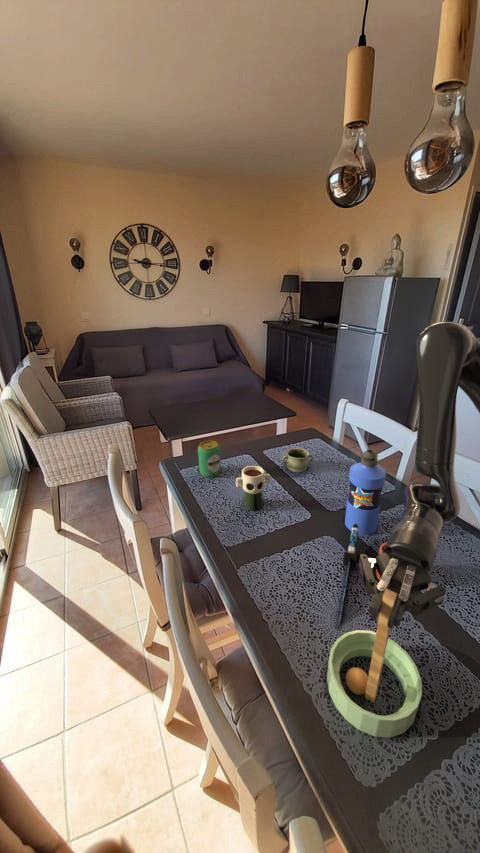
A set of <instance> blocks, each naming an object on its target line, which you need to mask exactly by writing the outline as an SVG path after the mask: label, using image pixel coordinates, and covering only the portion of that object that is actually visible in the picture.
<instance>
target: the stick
mask: <svg viewBox="0 0 480 853" xmlns="http://www.w3.org/2000/svg"><path fill="white" fill-rule="evenodd" d="M396 599H398V593H397V592H395V591H392V590H391V589H390V590H388V589H386V590H385V592H384V595H383V599H382V605H381V611H380V613H379V616H378V620H377V627H376V637H375V643H374V648H373V654H372V658H371V660H370V666H369V670H368V675H367V676H368V681H367V687H366V693H364V698H365V699H367V701H370V702H371V703H373V704H375V702H376V698H377V696H378V691H379V687H380V683H381V677H382V672H383V667H384V664H383V662H384V658H385V653H386V648H387V643H388V638H389V639H390V632H391V628H389V627H387V623H388V618H389V615H390V613H391V610H392V607H393V606H394V603H395V601H396Z"/></svg>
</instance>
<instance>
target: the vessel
mask: <svg viewBox="0 0 480 853" xmlns="http://www.w3.org/2000/svg"><path fill="white" fill-rule="evenodd" d="M309 458H311V459H309ZM313 460H314V456H313V455H312V454H311V453H310V452H309V450H307V449H305V448H301V447H292V448H289V449H288V450H287V451H286V455H283V456H282V457H281V462H282V463H283V467H287V469H288V470H289V471H291V472H294V473H301V472H302V473H303V472H305V471H306V470H307V468H308V466H310V465H311V464H312V462H313Z"/></svg>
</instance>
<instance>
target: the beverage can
mask: <svg viewBox="0 0 480 853" xmlns="http://www.w3.org/2000/svg"><path fill="white" fill-rule="evenodd" d="M197 455H198V466H199V473H200V474H202V475H201V476H202V477H203V476H204V477H203V478H206V477H209V478H208V479H212V478H211V477H213V478H217V477H218V476H219V475H220V473H221V471H222V464H221V448H220V445H219V444H218V442H217V441H215V440H205V441H202V442H200V443H199V445H198V447H197Z"/></svg>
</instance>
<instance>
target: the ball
mask: <svg viewBox="0 0 480 853" xmlns="http://www.w3.org/2000/svg"><path fill="white" fill-rule="evenodd" d="M368 676H369V675H368V674H367V672H365V670H363V669H362V668H361V667H357V666H356V667H351V668H350V669H348V671H347V672H346V675H345V684H346V686H347V689H349V691H351V693H352V694H355V695H358V696H361V695H365V693H366V687H367V681H368Z"/></svg>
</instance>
